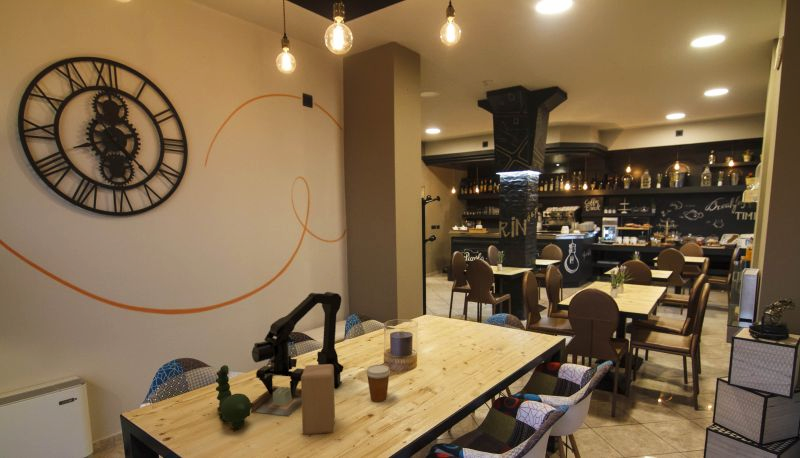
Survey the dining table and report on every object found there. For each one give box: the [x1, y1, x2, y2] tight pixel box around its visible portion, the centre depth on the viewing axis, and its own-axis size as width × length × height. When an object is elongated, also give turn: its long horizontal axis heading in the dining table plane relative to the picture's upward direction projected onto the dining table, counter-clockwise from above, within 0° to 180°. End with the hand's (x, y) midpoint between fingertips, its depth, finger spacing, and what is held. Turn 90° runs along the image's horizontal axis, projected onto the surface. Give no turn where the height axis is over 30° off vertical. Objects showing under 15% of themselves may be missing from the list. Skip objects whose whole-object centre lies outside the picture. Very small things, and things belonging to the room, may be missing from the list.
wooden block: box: [300, 364, 336, 435], centre depth 136 cm, size 10×10×20 cm
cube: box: [273, 386, 292, 407], centre depth 153 cm, size 5×5×5 cm
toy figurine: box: [215, 364, 252, 430], centre depth 141 cm, size 9×19×25 cm
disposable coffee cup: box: [365, 364, 391, 403], centre depth 156 cm, size 10×10×12 cm
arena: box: [250, 385, 302, 417], centre depth 153 cm, size 15×15×4 cm
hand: (282, 395), depth 153 cm, fingers open, 9 cm apart
